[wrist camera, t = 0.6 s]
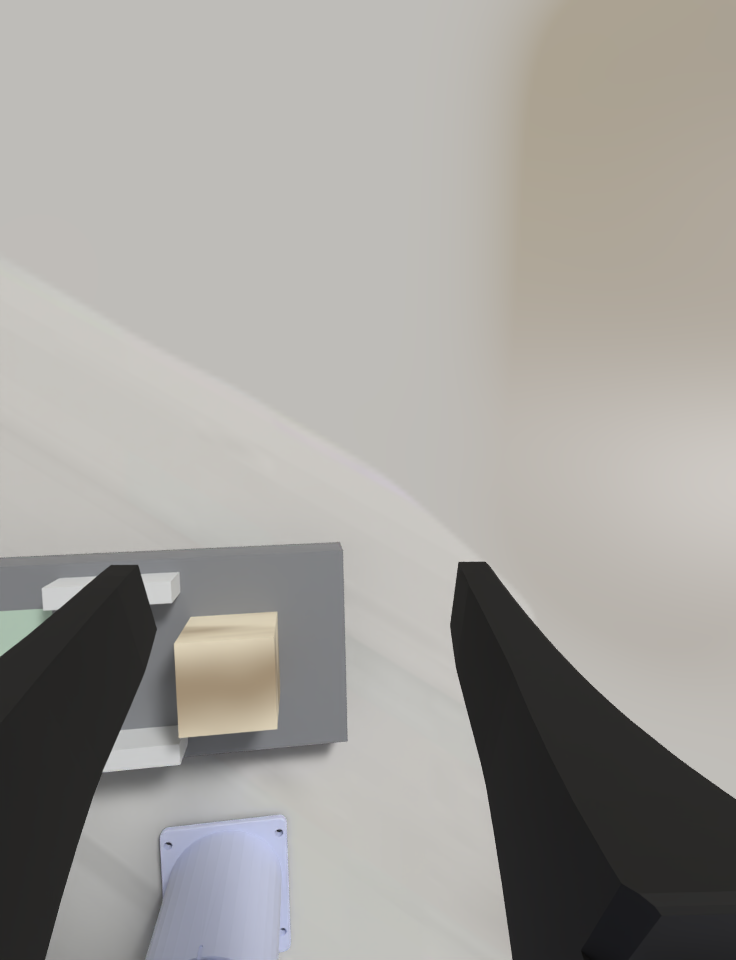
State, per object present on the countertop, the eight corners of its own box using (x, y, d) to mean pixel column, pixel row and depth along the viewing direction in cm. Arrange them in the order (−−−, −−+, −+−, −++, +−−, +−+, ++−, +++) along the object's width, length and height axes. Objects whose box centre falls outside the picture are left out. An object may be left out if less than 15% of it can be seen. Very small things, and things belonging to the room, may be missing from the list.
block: (280, 692, 31) (277, 729, 27) (194, 699, 30) (178, 738, 26) (277, 611, 31) (274, 637, 27) (190, 617, 30) (174, 643, 26)
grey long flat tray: (344, 719, 34) (350, 761, 30) (-123, 761, 31) (-195, 816, 26) (339, 542, 33) (345, 558, 29) (-144, 564, 30) (-221, 586, 25)
